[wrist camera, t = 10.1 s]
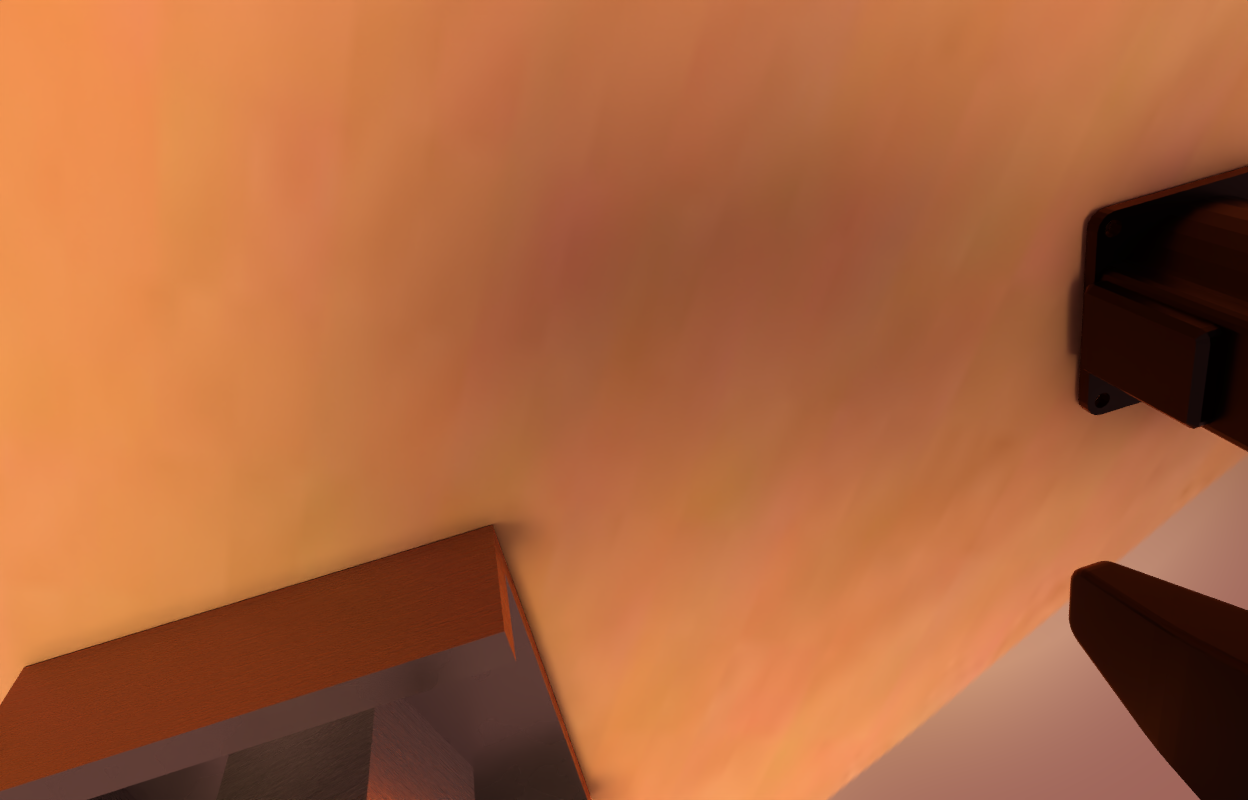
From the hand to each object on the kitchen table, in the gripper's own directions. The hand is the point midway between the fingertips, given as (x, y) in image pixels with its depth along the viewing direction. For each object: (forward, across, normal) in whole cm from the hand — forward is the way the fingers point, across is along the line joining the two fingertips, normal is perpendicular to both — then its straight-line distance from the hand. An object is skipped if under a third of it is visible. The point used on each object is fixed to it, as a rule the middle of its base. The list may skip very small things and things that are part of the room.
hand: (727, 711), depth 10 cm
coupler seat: (+13, +10, +11) cm, 20 cm away
